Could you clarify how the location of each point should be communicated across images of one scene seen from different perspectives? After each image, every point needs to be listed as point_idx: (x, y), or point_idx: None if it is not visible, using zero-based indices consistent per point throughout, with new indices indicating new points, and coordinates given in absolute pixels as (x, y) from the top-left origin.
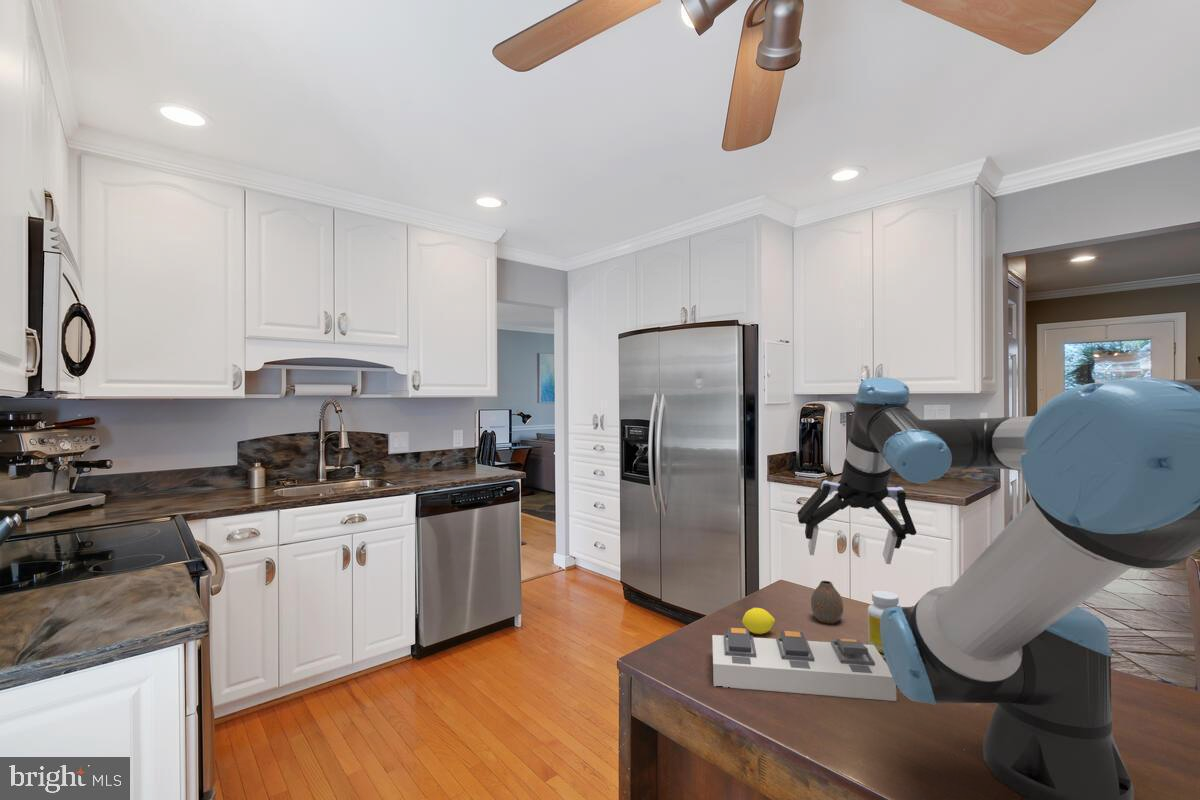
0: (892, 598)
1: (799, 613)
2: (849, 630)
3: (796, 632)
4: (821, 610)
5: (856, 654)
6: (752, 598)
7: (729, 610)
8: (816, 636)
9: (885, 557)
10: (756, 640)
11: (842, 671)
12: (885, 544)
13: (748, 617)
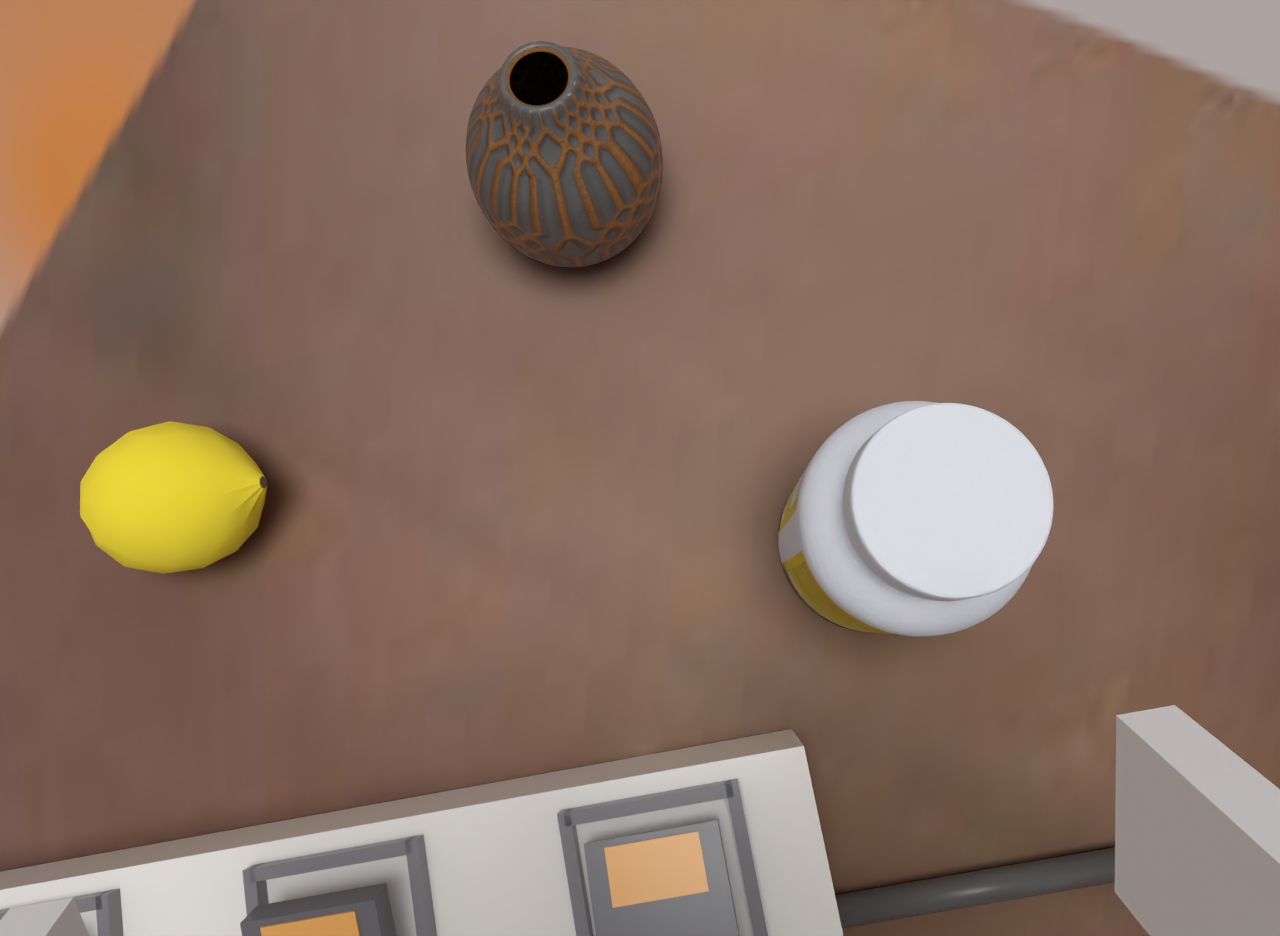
0: (1005, 575)
1: (434, 163)
2: (692, 307)
3: (335, 923)
4: (533, 252)
5: None
6: (178, 35)
7: (56, 255)
8: (516, 450)
9: (1149, 875)
10: (140, 906)
11: None
12: (1275, 884)
13: (99, 545)
